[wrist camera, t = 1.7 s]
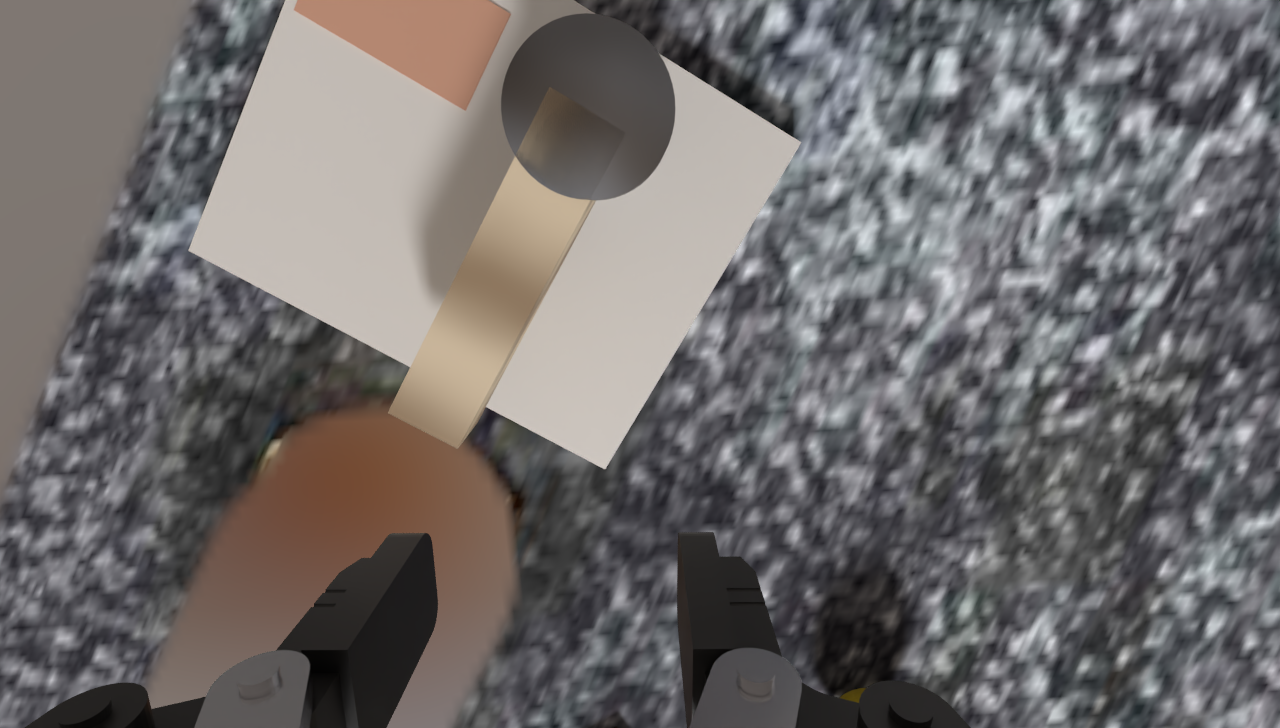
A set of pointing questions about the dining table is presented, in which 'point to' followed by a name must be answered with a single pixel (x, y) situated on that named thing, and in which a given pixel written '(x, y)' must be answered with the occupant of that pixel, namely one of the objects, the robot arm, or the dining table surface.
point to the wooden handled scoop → (540, 203)
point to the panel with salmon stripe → (473, 202)
